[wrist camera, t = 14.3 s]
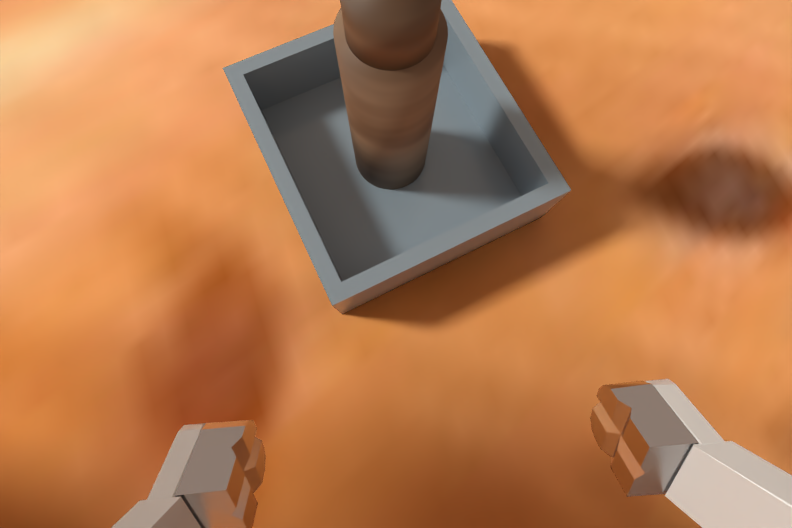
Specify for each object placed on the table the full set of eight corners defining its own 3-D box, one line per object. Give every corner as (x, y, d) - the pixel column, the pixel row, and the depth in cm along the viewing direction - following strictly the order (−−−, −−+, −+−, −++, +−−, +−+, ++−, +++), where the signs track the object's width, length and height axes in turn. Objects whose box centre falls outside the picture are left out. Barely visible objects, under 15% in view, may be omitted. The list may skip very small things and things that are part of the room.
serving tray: (248, 112, 24) (222, 68, 20) (432, 36, 25) (439, -18, 22) (342, 314, 21) (332, 305, 18) (541, 216, 23) (571, 190, 19)
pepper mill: (344, 142, 23) (293, -88, 11) (405, 115, 23) (422, -134, 11) (374, 200, 22) (355, 22, 10) (437, 171, 22) (490, -33, 11)
